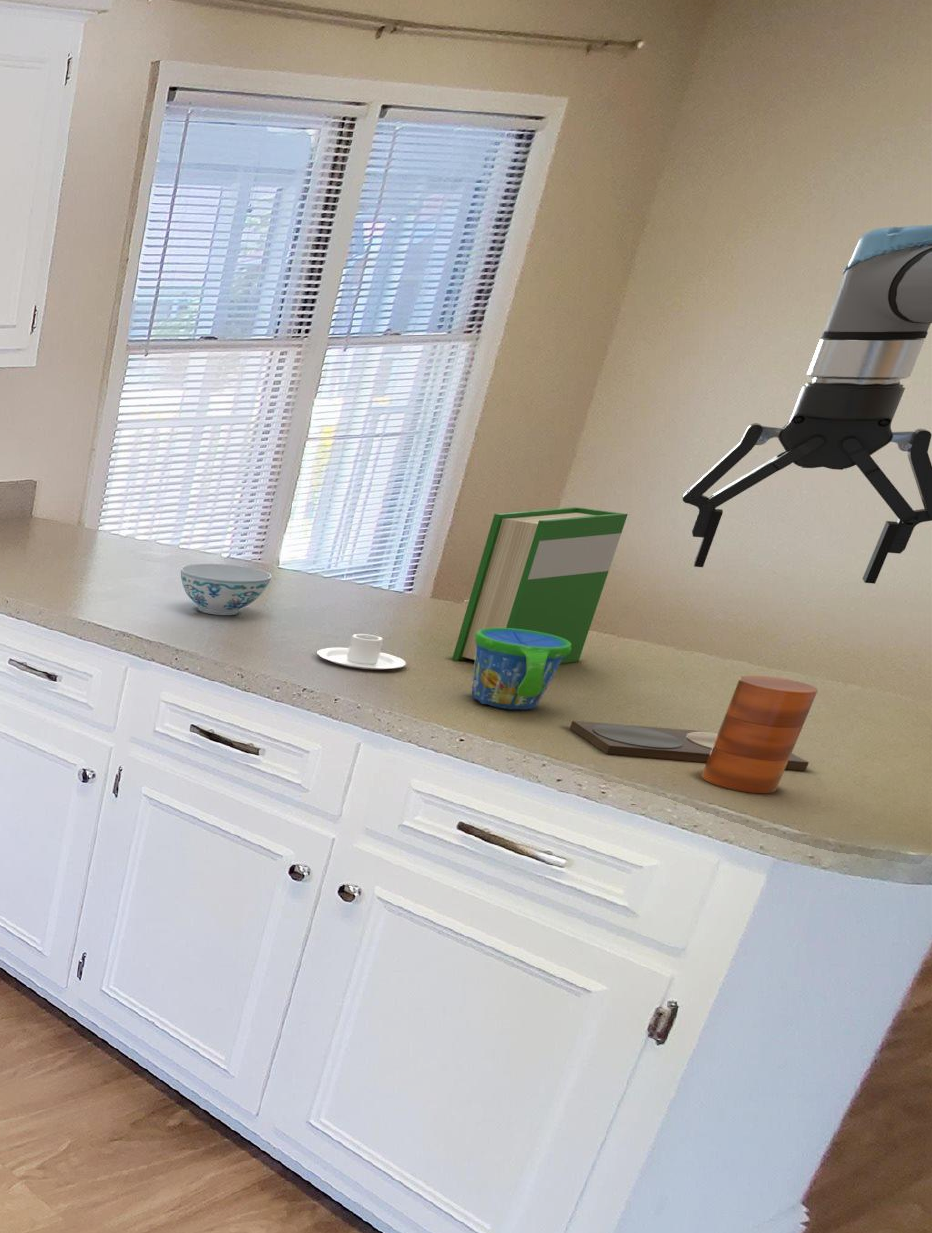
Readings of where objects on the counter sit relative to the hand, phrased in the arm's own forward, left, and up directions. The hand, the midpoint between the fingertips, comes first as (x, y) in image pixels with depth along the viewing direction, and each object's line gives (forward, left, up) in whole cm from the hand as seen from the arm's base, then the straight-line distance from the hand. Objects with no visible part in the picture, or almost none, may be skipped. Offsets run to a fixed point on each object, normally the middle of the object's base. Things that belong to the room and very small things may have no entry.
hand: (780, 573), depth 129 cm
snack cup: (+26, +11, -26) cm, 38 cm away
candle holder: (+44, +24, -26) cm, 56 cm away
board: (+11, -3, -26) cm, 28 cm away
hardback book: (+52, 0, -26) cm, 58 cm away
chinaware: (+75, +39, -26) cm, 88 cm away
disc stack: (-1, -3, -26) cm, 26 cm away
